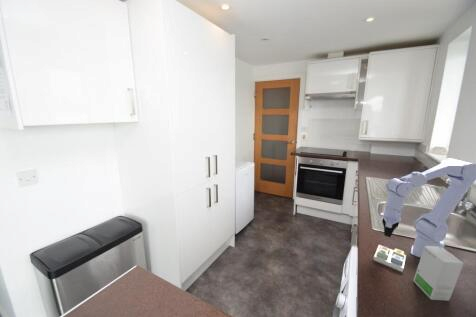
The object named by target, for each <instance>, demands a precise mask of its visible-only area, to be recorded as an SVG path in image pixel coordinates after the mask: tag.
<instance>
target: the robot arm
mask: <svg viewBox="0 0 476 317" xmlns="http://www.w3.org/2000/svg"><path fill="white" fill-rule="evenodd" d="M442 176H445V177H447V178H448V179H449V181H450V184H449V185H448V187H447V188H446V189H445V190H444V193H443V194H442V195H441V197H440V198H439V199H438V201H437V202H436V204H435V205H434V207H432V210H431V211H430V212H429V213H424V214H421V215H420V217H418V218H417V219H416V220H415V221H414V222H413V228H414V230H415V233H416V234H415V239H414V243H413V245H411V249H410V255H413V256H414V257H417V258H420V259H421V255H422V252H423V249H424V246H435V247H442V248H444V249H445V241H444V240H445V239H446V236H447V234H448V231H449V229H450V228H449V226H448V224H447V222H446V221H447V219H448V218H449V217H450V215H451V213H452V212H454V210H455V208H456V207H457V206H458V204H459V203H460V202H461V200H462V198H463V197H464V196H465V195H466V193H467V192H468V190H469V189H470V187H471V186H472V185H473V184H474V183H475V181H476V163H475V162H468V161H463V160H459V159H456V158H451V157H448V158H446V159H444V160H441V161H440V163H439V164H437V165H435V166H433V167H431V168H428V169H427V170H425V171H422V172H420V171H412V172H411V173H409V174H406V175H404V176H401V177H399V178H396V177H395V178H391V179H389V180H388V181H387V183H386V184H385V189H386V190H387V196H386V202H385V206H384V210H383V212H381V213H380V217H383V218H382V220H381V222H382V226H383V234H384V237H388V238H391V236H393V233H394V231H395V230H396V229H397V228H398V227H399V225H400V222H401V220H402V219H401V215H402V212H403V208H404V202H405V199H406V196H408V195H409V194H410V193H411V192H412V191H413V190H414V189H417V188H420V187H422V186H424V185H426V184H427V182H428V181H429V180H433V179H436V178H439V177H442Z"/></svg>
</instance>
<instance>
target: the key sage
mask: <svg viewBox="0 0 476 317" xmlns="http://www.w3.org/2000/svg"><path fill="white" fill-rule="evenodd" d="M387 255H388V251H385V250H383V249H380V248H379V251H378V255H377V256H378V257H380V258H383V259H385V260H386V259H387Z"/></svg>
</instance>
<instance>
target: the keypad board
mask: <svg viewBox="0 0 476 317" xmlns="http://www.w3.org/2000/svg"><path fill="white" fill-rule="evenodd" d="M380 247H381V244H378V246H377V248H376V251H375V253H374V255H373V260H372V261H373V262H376V263H379V265H380V264H381V265H382V266H385V267H388V268H390V269H391V270H395V271H397V272H399V273H402V274H403V272H404V270H405V262H406V258H407V254H405V253H404V255H403V260H402V264H401V266H400V265H397V264H395V263H393V262H392V257H393V254H394V250H395V249H392V248H390V249H389V253H388V255H387V259H386V260H385V259H383V258H380V257H378V256H377V255H378V251H379V248H380Z"/></svg>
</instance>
